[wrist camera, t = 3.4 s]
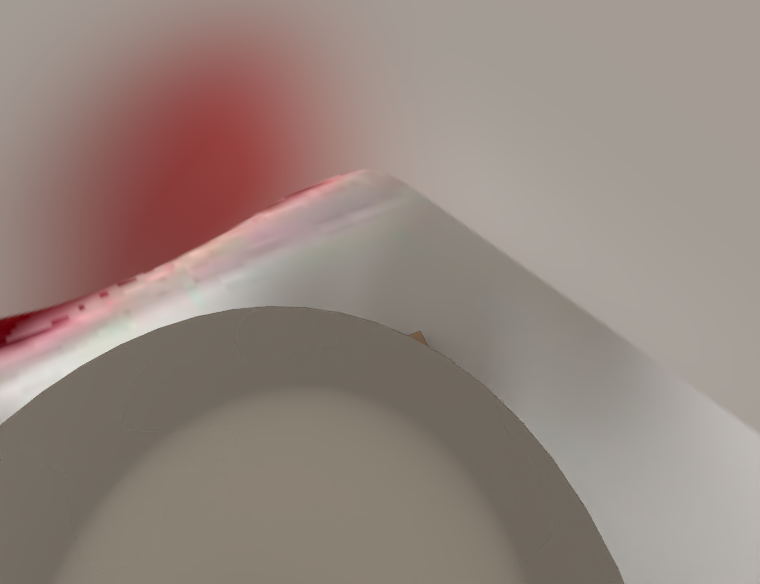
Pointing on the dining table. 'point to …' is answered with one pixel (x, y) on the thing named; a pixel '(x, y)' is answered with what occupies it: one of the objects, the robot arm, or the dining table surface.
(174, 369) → the polished metal canister
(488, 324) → the dining table surface
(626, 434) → the dining table surface
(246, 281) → the dining table surface
